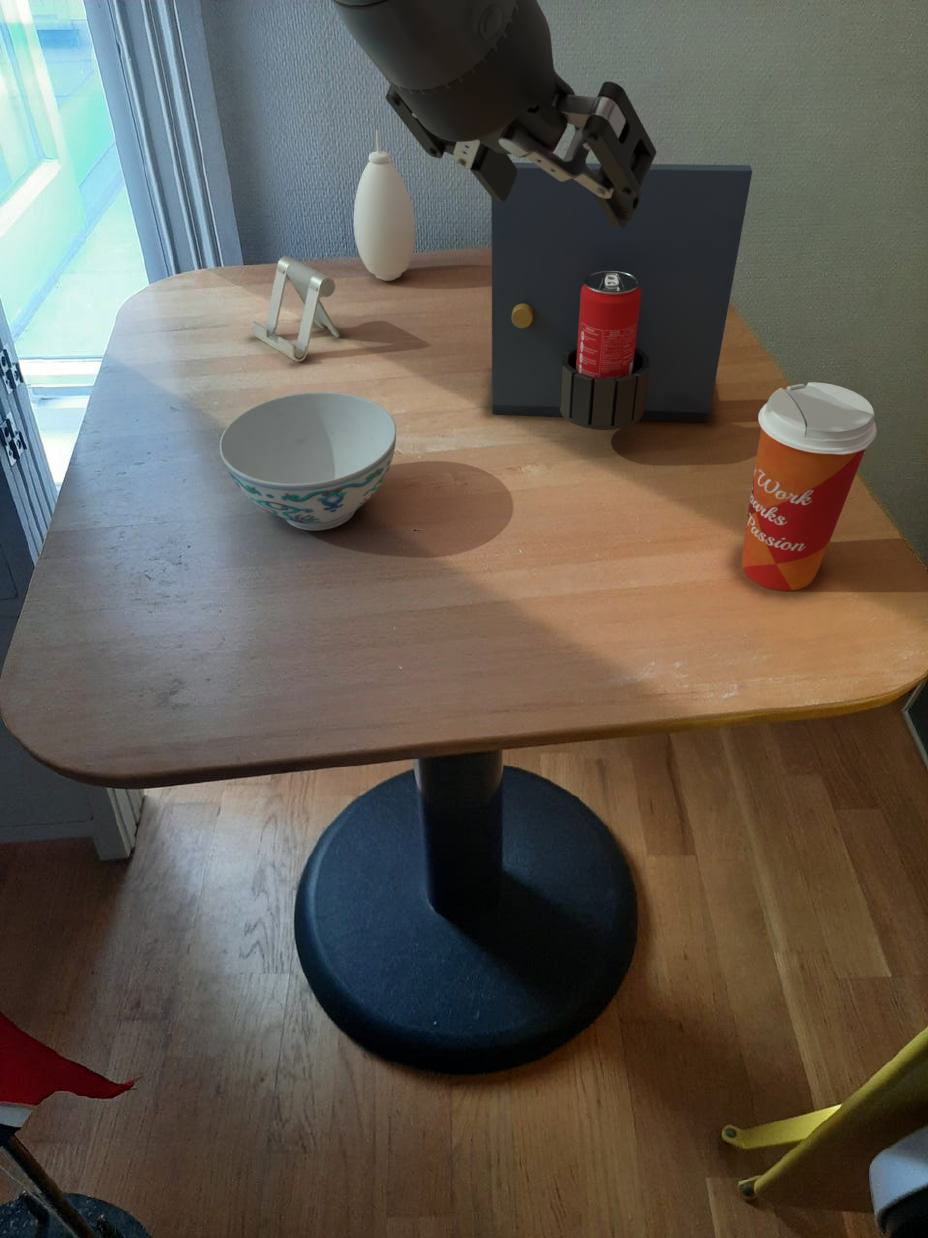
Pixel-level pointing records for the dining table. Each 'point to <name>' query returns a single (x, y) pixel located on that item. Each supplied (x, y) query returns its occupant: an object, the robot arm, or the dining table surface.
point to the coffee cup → (802, 480)
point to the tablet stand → (310, 291)
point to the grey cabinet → (646, 248)
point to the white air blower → (383, 218)
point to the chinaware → (310, 456)
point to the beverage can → (608, 325)
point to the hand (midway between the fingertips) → (564, 199)
